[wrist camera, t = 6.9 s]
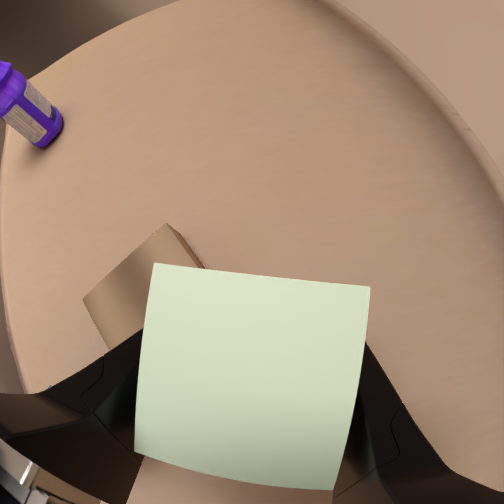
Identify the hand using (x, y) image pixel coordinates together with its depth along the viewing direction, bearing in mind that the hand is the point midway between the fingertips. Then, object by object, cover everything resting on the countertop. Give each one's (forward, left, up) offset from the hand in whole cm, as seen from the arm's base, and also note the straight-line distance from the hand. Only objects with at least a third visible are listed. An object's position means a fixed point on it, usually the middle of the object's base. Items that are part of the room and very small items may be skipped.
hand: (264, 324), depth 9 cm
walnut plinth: (-7, +6, -13) cm, 16 cm away
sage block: (-1, -1, -7) cm, 7 cm away
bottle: (-10, +39, -14) cm, 42 cm away
